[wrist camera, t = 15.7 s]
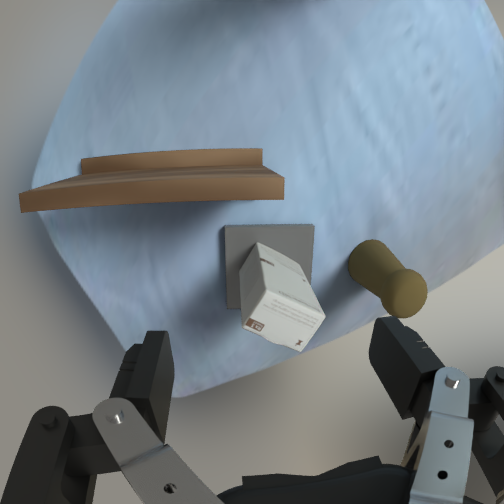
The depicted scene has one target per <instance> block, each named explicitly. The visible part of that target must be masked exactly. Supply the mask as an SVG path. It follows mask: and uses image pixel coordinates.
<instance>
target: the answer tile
mask: <svg viewBox="0 0 504 504" xmlns="http://www.w3.org/2000/svg"><path fill="white" fill-rule="evenodd" d="M257 242H258V243H261V244H263V245H265V246H267V247H269V248H271V249H273V250H275V251H277V252H279V253H281V254H283V255H285V256H286V257H288V258H290V259H292V260H293V261H295V262H296V263H298V264H299V265H300V266H301V268H302V270H303V272H304V274H305V276H306V278H307V280H308V282H309V284H310V285H311V272H312V259H313V243H314V225H313V224H265V225H225V257H226V292H227V309H241V296H240V276H239V271H240V269H241V268H242V266H243V264H244V263H245V261H246V259H247V258H248V256H249V254H250V253H251V251H252V249H253V248H254V246H255V244H256V243H257Z"/></svg>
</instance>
